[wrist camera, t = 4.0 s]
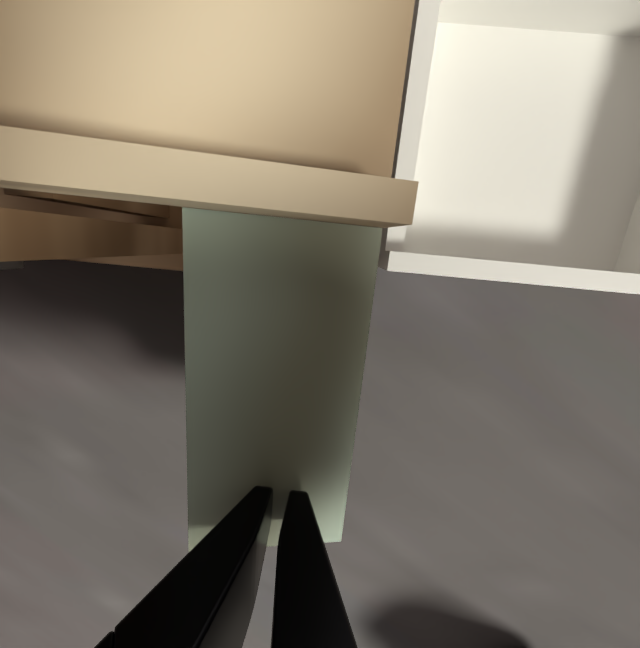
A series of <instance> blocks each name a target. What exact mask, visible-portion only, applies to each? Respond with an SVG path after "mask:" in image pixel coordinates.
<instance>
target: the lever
mask: <svg viewBox="0 0 640 648" xmlns="http://www.w3.org/2000/svg"><path fill="white" fill-rule="evenodd" d="M414 4H415V0H0V188H10V189H19V190H29V191H38V192H48V193H57V194H67V195H76V196H86V197H95V198H105V199H114V200H124V201H133V202H143V203H152V204H162V205H171V206H181V207H182V227H183V280H184V333H185V386H186V439H187V492H188V545H189V552H190V551H191V550H192V549H193V548H194V547H195V546H196V545H197V544H198V543H199V542H200V541H201V540H202V539H203V538H204V537H205V536H206V535H207V534H208V533H209V532H210V531H211V530H212V529H213V528H214V527H215V526H216V525H217V524H218V523H219V522H220V521H221V520H222V519H223V518H224V517H225V516H226V515H227V514H228V513H229V512H230V511H231V510H232V509H233V507H234V506H235V505H236V504H237V503H238V502H239V501H240V500H241V499H242V498H243V497H244V496H245V495H246V494H247V493H248V492H249V491H250V490H251V489H252V488H253V487H255V486H267V487H271V488H272V489H273V504H272V519H271V526H270V531H269V536H268V541H267V546H278V539H279V534H280V529H281V525H282V520H283V516H284V512H285V508H286V504H287V500H288V495H289V492H290V491H291V490H299V491H306V492H307V493H308V495H309V498H310V501H311V504H312V507H313V510H314V513H315V516H316V519H317V523H318V526H319V529H320V532H321V535H322V538H323V541H324V543H325V542H340V541H341V537H342V530H343V522H344V515H345V507H346V500H347V492H348V485H349V477H350V470H351V462H352V455H353V447H354V440H355V432H356V425H357V417H358V410H359V402H360V395H361V387H362V380H363V372H364V364H365V357H366V349H367V342H368V334H369V327H370V319H371V312H372V304H373V297H374V289H375V282H376V274H377V267H378V259H379V252H380V244H381V237H382V229H383V228H388V227H397V226H405V225H412V222H413V216H414V209H415V203H416V196H417V190H418V183H419V182H418V181H411V180H404V179H396V178H391V175H392V168H393V161H394V153H395V146H396V138H397V131H398V123H399V116H400V108H401V101H402V94H403V86H404V79H405V71H406V64H407V56H408V49H409V41H410V34H411V27H412V19H413V12H414ZM186 207H190V208H186ZM195 208H200V209H195ZM205 209H209V210H205ZM214 210H219V211H214ZM224 211H228V212H224ZM233 212H238V213H233ZM243 213H247V214H243ZM252 214H257V215H252ZM262 215H266V216H262ZM271 216H275V217H271ZM281 217H285V218H281ZM290 218H294V219H290ZM300 219H304V220H300ZM309 220H313V221H309ZM319 221H323V222H319ZM328 222H332V223H328ZM338 223H342V224H338ZM347 224H351V225H347ZM357 225H361V226H357ZM367 226H370V227H367ZM376 227H380V228H376ZM267 546H266V547H267Z"/></svg>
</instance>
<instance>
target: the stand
mask: <svg viewBox="0 0 640 648" xmlns="http://www.w3.org/2000/svg"><path fill="white" fill-rule="evenodd" d="M186 208H190V207H186ZM195 209H200V208H195ZM205 210H209V209H205ZM214 211H219V210H214ZM224 212H228V211H224ZM233 213H238V212H233ZM243 214H247V213H243ZM51 259H62V260H72V261H83V262H93V263H104V264H114V265H125V266H135V267H146V268H156V269H167V270H178V271H183V227H182V207H181V206H171V205H162V204H152V203H143V202H133V201H124V200H114V199H105V198H95V197H86V196H76V195H67V194H57V193H48V192H38V191H29V190H19V189H10V188H0V270H1V269H18V268H23V267H24V263H23V261H28V260H51Z"/></svg>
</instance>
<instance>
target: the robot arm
mask: <svg viewBox="0 0 640 648" xmlns="http://www.w3.org/2000/svg"><path fill="white" fill-rule="evenodd" d="M272 504H273V489H272V488H271V487H267V486H255V487H253V488H252V489H251V490H250V491H249V492H248V493H247V494H246V495H245V496H244V497H243V498H242V499H241V500H240V501H239V502H238V503H237V504H236V505H235V506H234V507H233V509H232V510H231V511H230V512H229V513H228V514H227V515H226V516H225V517H224V518H223V519H222V520H221V521H220V522H219V523H218V524H217V525H216V526H215V527H214V528H213V529H212V530H211V531H210V532H209V533H208V534H207V535H206V536H205V537H204V538H203V539H202V540H201V541H200V542H199V543H198V544H197V545H196V546H195V547H194V548H193V549H192V550H191V551H190V552H189V553H188V554H187V555H186V556H185V557H184V558H183V559H182V560H181V561H180V562H179V563H178V564H177V565H176V566H175V567H174V568H173V569H172V570H171V571H170V572H169V573H168V574H167V575H166V576H165V577H164V578H163V579H162V580H161V581H160V582H159V583H158V584H157V585H156V586H155V587H154V588H153V589H152V590H151V591H150V592H149V593H148V594H147V595H146V596H145V597H144V598H143V599H142V600H141V601H140V602H139V603H138V604H137V605H136V606H135V607H134V608H133V609H132V610H131V611H130V612H129V613H128V614H127V615H126V616H125V617H124V618H123V619H122V620H121V621H120V623H119V624H118V625H117V626H116V627H115V631H114V632H113V631H111V632H109V633H108V634H107V635H106V636H105V637H104V638H103V639H102V640H101V641H100V642H99V643H98V644H97V645H96V646H95V647H94V648H242V646H243V642H244V639H245V636H246V632H247V629H248V626H249V622H250V619H251V615H252V612H253V608H254V604H255V600H256V595H257V590H258V586H259V581H260V576H261V571H262V566H263V561H264V556H265V551H266V546H267V541H268V536H269V531H270V526H271V519H272ZM271 648H357V645H356V641H355V638H354V635H353V632H352V629H351V626H350V623H349V620H348V616H347V613H346V610H345V607H344V604H343V601H342V598H341V595H340V591H339V588H338V585H337V582H336V579H335V576H334V573H333V570H332V566H331V563H330V560H329V557H328V554H327V551H326V548H325V544H324V541H323V538H322V535H321V532H320V529H319V526H318V523H317V519H316V516H315V513H314V510H313V507H312V504H311V501H310V498H309V495H308V493H307V492H306V491H299V490H291V491H290V492H289V495H288V500H287V504H286V508H285V512H284V516H283V520H282V525H281V529H280V534H279V539H278V549H277V564H276V578H275V593H274V607H273V622H272V637H271Z"/></svg>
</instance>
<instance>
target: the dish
mask: <svg viewBox="0 0 640 648" xmlns="http://www.w3.org/2000/svg"><path fill="white" fill-rule="evenodd" d="M391 178H396V179H404V180H411V181H418V182H419V183H418V190H417V196H416V203H415V209H414V216H413V222H412V225H405V226H397V227H388V228H383V229H382V237H381V244H380V252H379V259H378V267H380V268H382V269H385V270H387V271H396V272H407V273H418V274H428V275H439V276H450V277H460V278H471V279H482V280H493V281H503V282H514V283H525V284H535V285H546V286H557V287H567V288H578V289H589V290H599V291H610V292H621V293H632V294H640V0H415V4H414V12H413V19H412V27H411V34H410V41H409V49H408V56H407V64H406V71H405V79H404V86H403V94H402V101H401V108H400V116H399V123H398V131H397V138H396V146H395V153H394V161H393V168H392V175H391ZM378 228H380V227H378Z"/></svg>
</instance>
